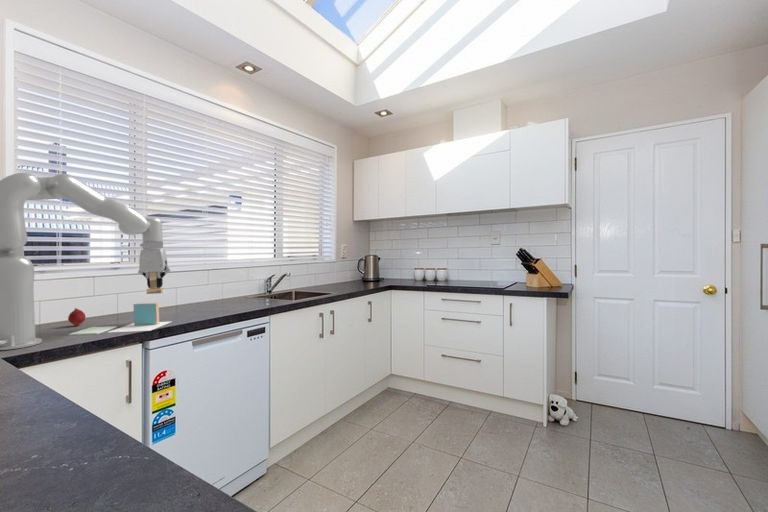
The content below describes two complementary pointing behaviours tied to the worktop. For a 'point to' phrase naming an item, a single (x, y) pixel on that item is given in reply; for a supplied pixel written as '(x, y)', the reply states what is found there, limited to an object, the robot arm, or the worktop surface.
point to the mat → (139, 327)
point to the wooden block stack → (154, 284)
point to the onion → (76, 317)
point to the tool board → (93, 330)
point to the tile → (146, 314)
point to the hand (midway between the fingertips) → (155, 286)
